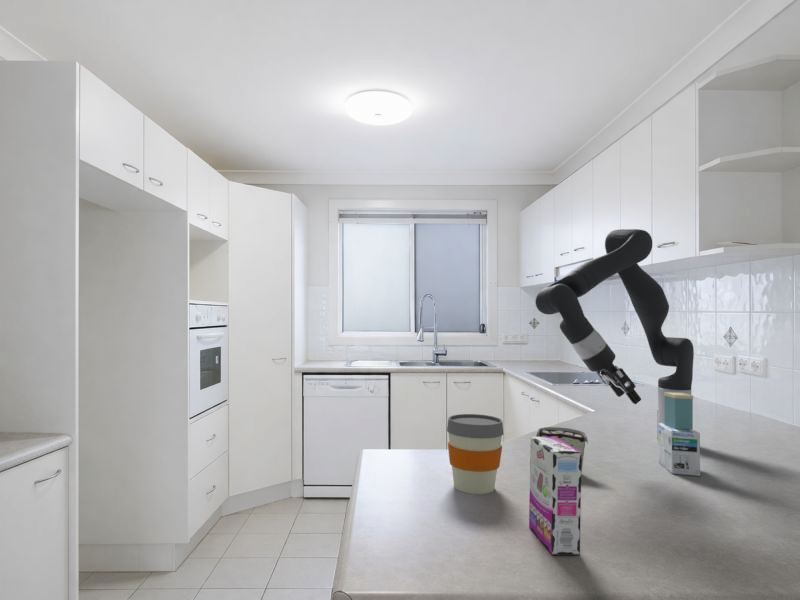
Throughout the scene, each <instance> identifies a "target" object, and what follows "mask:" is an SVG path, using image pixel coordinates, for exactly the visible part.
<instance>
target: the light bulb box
mask: <svg viewBox="0 0 800 600" xmlns="http://www.w3.org/2000/svg"><path fill="white" fill-rule="evenodd" d="M658 463H659V464H660V465H661V466H663V468H665V469H666V471H667V470H669V471H668V472H670V473H671V475H686V476H696V477H697V476H698V477H700V476H701V433H700V432H698V431H696V430H695V429H673V428H671V427H668V426H665V425H664V423H659V442H658Z"/></svg>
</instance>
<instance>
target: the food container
mask: <svg viewBox="0 0 800 600" xmlns="http://www.w3.org/2000/svg"><path fill="white" fill-rule="evenodd" d="M535 437H555V438H557V439H559V440H561V441H562V442H564V443H566V444H568V445H569V446H571V447H573V448H575V449H576V450H578V451H580V452H581V453H582V458H581V474H582V472H583V465H584V462H583V461H584V457H585V456H584V455H585V447H586V446H585V445H586V443H587V445H588V444H589V443H588V442H589V441H588V437H587V434H586V432H584V431H581V430H577V429H574V428H568V427H560V426H558V427H557V426H547V427H540V428H538V430H537V432H536V435H535Z"/></svg>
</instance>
